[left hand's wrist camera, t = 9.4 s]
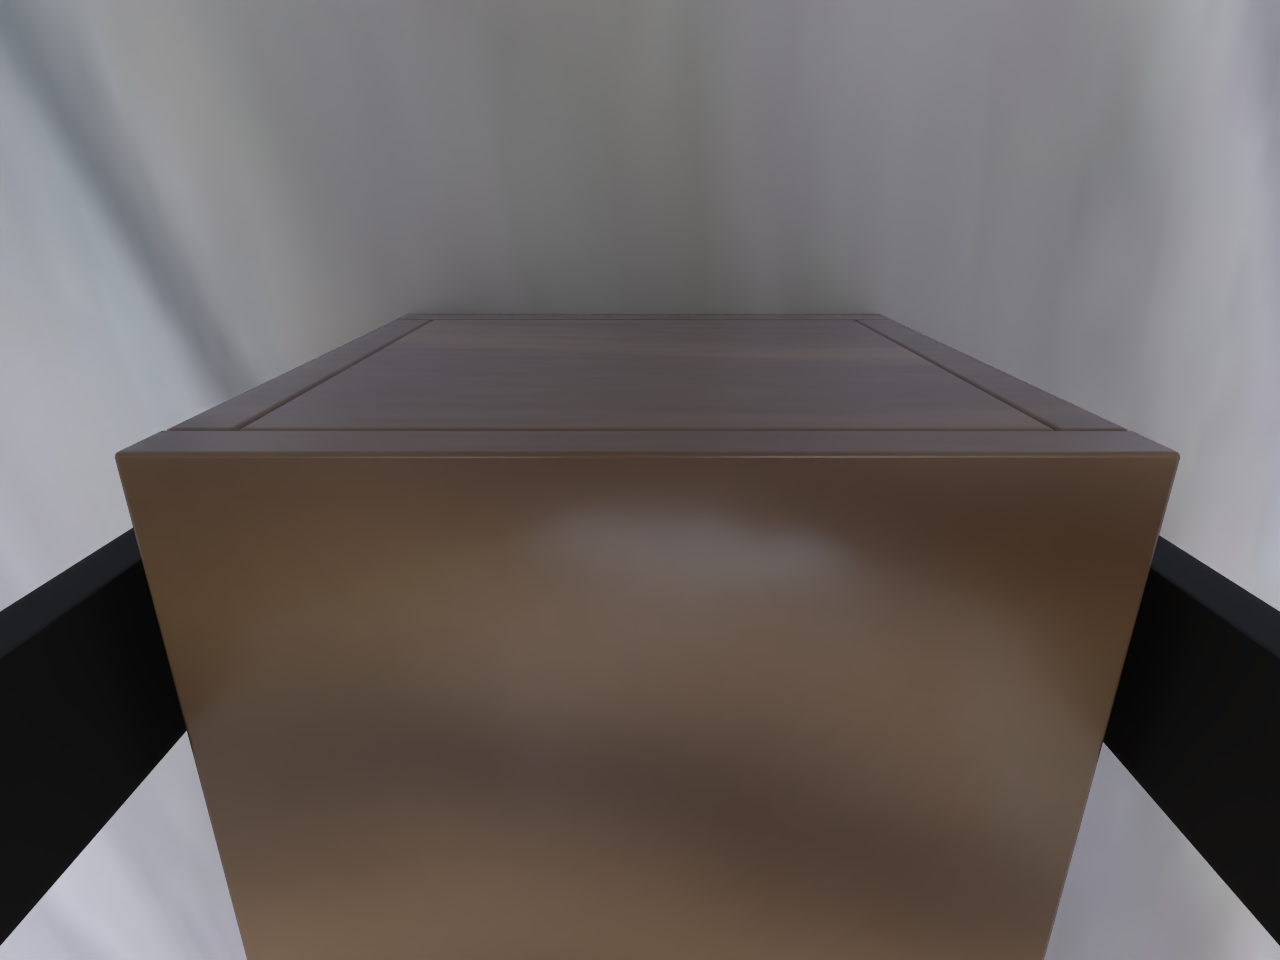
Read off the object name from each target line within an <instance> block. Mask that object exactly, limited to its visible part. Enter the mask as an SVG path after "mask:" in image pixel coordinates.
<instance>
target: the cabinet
mask: <svg viewBox="0 0 1280 960" xmlns="http://www.w3.org/2000/svg"><path fill="white" fill-rule="evenodd" d="M1179 459H1180V455H1179V453H1178V452H1176V451H1173V450H1171V449H1169V448H1167V447H1165V446H1163V445H1160V444H1158V443H1156V442H1154V441H1152V440H1150V439H1148V438H1145V437H1143V436H1141V435H1139V434H1137V433H1135V432H1132V431H1128V430H1127V429H1125V428H1123V427H1120V426H1118V425H1116V424H1114V423H1112V422H1110V421H1108V420H1105V419H1103V418H1101V417H1099V416H1097V415H1095V414H1092V413H1090V412H1088V411H1086V410H1084V409H1082V408H1080V407H1077V406H1075V405H1073V404H1071V403H1069V402H1067V401H1065V400H1062V399H1060V398H1058V397H1056V396H1054V395H1052V394H1049V393H1047V392H1045V391H1043V390H1041V389H1039V388H1037V387H1034V386H1032V385H1030V384H1028V383H1026V382H1024V381H1022V380H1019V379H1017V378H1015V377H1013V376H1011V375H1009V374H1006V373H1004V372H1002V371H1000V370H998V369H996V368H994V367H991V366H989V365H987V364H985V363H983V362H981V361H979V360H976V359H974V358H972V357H970V356H968V355H966V354H963V353H961V352H959V351H957V350H955V349H953V348H951V347H948V346H946V345H944V344H942V343H940V342H938V341H935V340H933V339H931V338H929V337H927V336H925V335H923V334H920V333H918V332H916V331H914V330H912V329H910V328H908V327H905V326H903V325H901V324H899V323H897V322H895V321H892V320H890V319H888V318H886V317H884V316H882V315H855V314H854V315H852V314H850V315H849V314H848V315H847V314H845V315H844V314H408V315H405V316H403V317H401V318H399V319H397V320H395V321H393V322H391V323H389V324H387V325H385V326H383V327H381V328H379V329H376V330H374V331H372V332H370V333H368V334H366V335H364V336H362V337H360V338H358V339H356V340H354V341H351V342H349V343H347V344H345V345H343V346H341V347H339V348H337V349H335V350H333V351H331V352H328V353H326V354H324V355H322V356H320V357H318V358H316V359H314V360H312V361H310V362H308V363H305V364H303V365H301V366H299V367H297V368H295V369H293V370H291V371H289V372H287V373H285V374H282V375H280V376H278V377H276V378H274V379H272V380H270V381H268V382H266V383H264V384H262V385H259V386H257V387H255V388H253V389H251V390H249V391H247V392H245V393H243V394H241V395H239V396H236V397H234V398H232V399H230V400H228V401H226V402H224V403H222V404H220V405H218V406H216V407H213V408H211V409H209V410H207V411H205V412H203V413H201V414H199V415H197V416H195V417H193V418H191V419H188V420H186V421H184V422H182V423H180V424H178V425H176V426H174V427H172V428H170V429H168V430H167V431H161V432H159V433H157V434H155V435H153V436H150V437H148V438H146V439H144V440H142V441H140V442H138V443H136V444H134V445H132V446H129V447H127V448H125V449H123V450H121V451H119V452H117V453H116V454H115V460H116V463H117V467H118V471H119V475H120V479H121V482H122V486H123V490H124V494H125V498H126V501H127V505H128V509H129V513H130V516H131V520H132V524H133V528H134V532H135V535H136V539H137V543H138V547H139V551H140V554H141V558H142V562H143V566H144V570H145V573H146V577H147V581H148V585H149V589H150V592H151V596H152V600H153V604H154V608H155V611H156V615H157V619H158V623H159V626H160V630H161V634H162V638H163V642H164V645H165V649H166V653H167V657H168V661H169V664H170V668H171V672H172V676H173V680H174V683H175V687H176V691H177V695H178V699H179V702H180V706H181V710H182V714H183V718H184V721H185V725H186V729H187V733H188V736H189V740H190V744H191V748H192V752H193V755H194V759H195V763H196V767H197V771H198V774H199V778H200V782H201V786H202V790H203V793H204V797H205V801H206V805H207V809H208V812H209V816H210V820H211V824H212V827H213V831H214V835H215V839H216V843H217V846H218V850H219V854H220V858H221V862H222V865H223V869H224V873H225V877H226V881H227V884H228V888H229V892H230V896H231V900H232V903H233V907H234V911H235V915H236V919H237V922H238V926H239V930H240V934H241V937H242V941H243V945H244V949H245V953H246V956H247V960H1044V957H1045V953H1046V950H1047V946H1048V942H1049V939H1050V935H1051V931H1052V928H1053V924H1054V920H1055V917H1056V913H1057V909H1058V906H1059V902H1060V898H1061V894H1062V891H1063V887H1064V883H1065V880H1066V876H1067V872H1068V869H1069V865H1070V861H1071V858H1072V854H1073V850H1074V847H1075V843H1076V839H1077V835H1078V832H1079V828H1080V824H1081V821H1082V817H1083V813H1084V810H1085V806H1086V802H1087V799H1088V795H1089V791H1090V787H1091V784H1092V780H1093V776H1094V773H1095V769H1096V765H1097V762H1098V758H1099V754H1100V751H1101V747H1102V743H1103V740H1104V736H1105V732H1106V728H1107V725H1108V721H1109V717H1110V714H1111V710H1112V706H1113V703H1114V699H1115V695H1116V692H1117V688H1118V684H1119V681H1120V677H1121V673H1122V669H1123V666H1124V662H1125V658H1126V655H1127V651H1128V647H1129V644H1130V640H1131V636H1132V633H1133V629H1134V625H1135V622H1136V618H1137V614H1138V610H1139V607H1140V603H1141V599H1142V596H1143V592H1144V588H1145V585H1146V581H1147V577H1148V574H1149V570H1150V566H1151V563H1152V559H1153V555H1154V551H1155V548H1156V544H1157V540H1158V537H1159V533H1160V529H1161V526H1162V522H1163V518H1164V515H1165V511H1166V507H1167V503H1168V500H1169V496H1170V492H1171V489H1172V485H1173V481H1174V478H1175V474H1176V470H1177V467H1178V463H1179Z"/></svg>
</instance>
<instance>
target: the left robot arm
mask: <svg viewBox="0 0 1280 960" xmlns="http://www.w3.org/2000/svg"><path fill="white" fill-rule="evenodd" d="M186 731H187V729H186V725H185V721H184V718H183V714H182V710H181V706H180V702H179V699H178V695H177V691H176V687H175V683H174V680H173V676H172V672H171V668H170V664H169V661H168V657H167V653H166V649H165V645H164V642H163V638H162V634H161V630H160V626H159V623H158V619H157V615H156V611H155V608H154V604H153V600H152V596H151V592H150V589H149V585H148V581H147V577H146V573H145V570H144V566H143V562H142V558H141V554H140V551H139V547H138V543H137V539H136V535H135V532H134V528H132V529H130V530H129V531H127V532H125V533H124V534H122V535H121V536H119V537H118V538H116V539H114V540H113V541H111V542H110V543H108V544H107V545H105V546H103V547H102V548H100V549H99V550H97V551H95V552H94V553H92V554H91V555H89V556H88V557H86V558H84V559H83V560H81V561H80V562H78V563H76V564H75V565H73V566H72V567H70V568H69V569H67V570H65V571H64V572H62V573H61V574H59V575H58V576H56V577H54V578H53V579H51V580H50V581H48V582H46V583H45V584H43V585H42V586H40V587H39V588H37V589H35V590H34V591H32V592H31V593H29V594H28V595H26V596H24V597H23V598H21V599H20V600H18V601H16V602H15V603H13V604H12V605H10V606H9V607H7V608H5V609H4V610H2V611H1V612H0V945H1V944H2V943H3V942H4V941H5V940H6V938H7V937H8V936H9V935H10V934H11V933H12V931H13V930H14V929H15V928H16V927H17V926H18V925H19V923H20V922H21V921H22V920H23V919H24V918H25V916H26V915H27V914H28V913H29V912H30V911H31V910H32V908H33V907H34V906H35V905H36V904H37V903H38V901H39V900H40V899H41V898H42V897H43V896H44V894H45V893H46V892H47V891H48V890H49V889H50V888H51V886H52V885H53V884H54V883H55V882H56V881H57V879H58V878H59V877H60V876H61V875H62V874H63V873H64V871H65V870H66V869H67V868H68V867H69V866H70V864H71V863H72V862H73V861H74V860H75V859H76V858H77V856H78V855H79V854H80V853H81V852H82V851H83V849H84V848H85V847H86V846H87V845H88V844H89V843H90V841H91V840H92V839H93V838H94V837H95V836H96V834H97V833H98V832H99V831H100V830H101V829H102V828H103V826H104V825H105V824H106V823H107V822H108V821H109V819H110V818H111V817H112V816H113V815H114V814H115V813H116V811H117V810H118V809H119V808H120V807H121V806H122V804H123V803H124V802H125V801H126V800H127V799H128V797H129V796H130V795H131V794H132V793H133V792H134V791H135V789H136V788H137V787H138V786H139V785H140V784H141V782H142V781H143V780H144V779H145V778H146V777H147V776H148V774H149V773H150V772H151V771H152V770H153V769H154V767H155V766H156V765H157V764H158V763H159V762H160V761H161V759H162V758H163V757H164V756H165V755H166V754H167V752H168V751H169V750H170V749H171V748H172V747H173V746H174V744H175V743H176V742H177V741H178V740H179V739H180V737H181V736H182V735H183V734H184V733H185V732H186ZM1103 742H1104V743H1105V744H1106V746H1107V747H1108V748H1109V749H1110V750H1111V751H1112V752H1113V754H1114V755H1115V756H1116V757H1117V758H1118V759H1119V761H1120V762H1121V763H1122V764H1123V765H1124V766H1125V767H1126V769H1127V770H1128V771H1129V772H1130V773H1131V774H1132V776H1133V777H1134V778H1135V779H1136V780H1137V781H1138V782H1139V784H1140V785H1141V786H1142V787H1143V788H1144V789H1145V791H1146V792H1147V793H1148V794H1149V795H1150V796H1151V797H1152V799H1153V800H1154V801H1155V802H1156V803H1157V804H1158V806H1159V807H1160V808H1161V809H1162V810H1163V811H1164V813H1165V814H1166V815H1167V816H1168V817H1169V818H1170V819H1171V821H1172V822H1173V823H1174V824H1175V825H1176V826H1177V828H1178V829H1179V830H1180V831H1181V832H1182V833H1183V834H1184V836H1185V837H1186V838H1187V839H1188V840H1189V841H1190V843H1191V844H1192V845H1193V846H1194V847H1195V848H1196V849H1197V851H1198V852H1199V853H1200V854H1201V855H1202V856H1203V858H1204V859H1205V860H1206V861H1207V862H1208V863H1209V864H1210V866H1211V867H1212V868H1213V869H1214V870H1215V871H1216V873H1217V874H1218V875H1219V876H1220V877H1221V878H1222V879H1223V881H1224V882H1225V883H1226V884H1227V885H1228V886H1229V888H1230V889H1231V890H1232V891H1233V892H1234V893H1235V894H1236V896H1237V897H1238V898H1239V899H1240V900H1241V901H1242V903H1243V904H1244V905H1245V906H1246V907H1247V908H1248V910H1249V911H1250V912H1251V913H1252V914H1253V915H1254V916H1255V918H1256V919H1257V920H1258V921H1259V922H1260V923H1261V925H1262V926H1263V927H1264V928H1265V929H1266V930H1267V931H1268V933H1269V934H1270V935H1271V936H1272V937H1273V938H1274V940H1275V941H1276V942H1277V943H1278V944H1279V945H1280V612H1279V611H1278V610H1276V609H1275V608H1273V607H1271V606H1270V605H1268V604H1267V603H1265V602H1264V601H1262V600H1260V599H1259V598H1257V597H1256V596H1254V595H1252V594H1251V593H1249V592H1248V591H1246V590H1245V589H1243V588H1241V587H1240V586H1238V585H1237V584H1235V583H1234V582H1232V581H1230V580H1229V579H1227V578H1226V577H1224V576H1222V575H1221V574H1219V573H1218V572H1216V571H1215V570H1213V569H1211V568H1210V567H1208V566H1207V565H1205V564H1204V563H1202V562H1200V561H1199V560H1197V559H1196V558H1194V557H1192V556H1191V555H1189V554H1188V553H1186V552H1185V551H1183V550H1181V549H1180V548H1178V547H1177V546H1175V545H1173V544H1172V543H1170V542H1169V541H1167V540H1166V539H1164V538H1162V537H1161V536H1159V537H1158V540H1157V544H1156V548H1155V551H1154V555H1153V559H1152V563H1151V566H1150V570H1149V574H1148V577H1147V581H1146V585H1145V588H1144V592H1143V596H1142V599H1141V603H1140V607H1139V610H1138V614H1137V618H1136V622H1135V625H1134V629H1133V633H1132V636H1131V640H1130V644H1129V647H1128V651H1127V655H1126V658H1125V662H1124V666H1123V669H1122V673H1121V677H1120V681H1119V684H1118V688H1117V692H1116V695H1115V699H1114V703H1113V706H1112V710H1111V714H1110V717H1109V721H1108V725H1107V728H1106V732H1105V736H1104V740H1103Z"/></svg>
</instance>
